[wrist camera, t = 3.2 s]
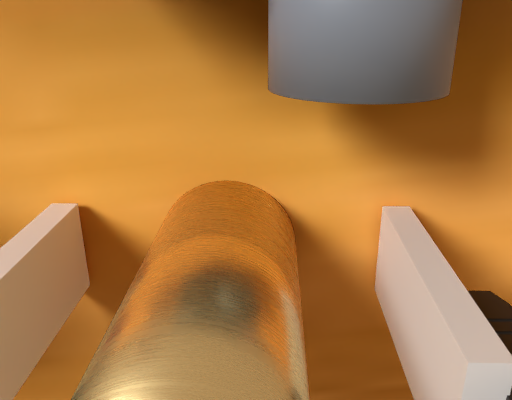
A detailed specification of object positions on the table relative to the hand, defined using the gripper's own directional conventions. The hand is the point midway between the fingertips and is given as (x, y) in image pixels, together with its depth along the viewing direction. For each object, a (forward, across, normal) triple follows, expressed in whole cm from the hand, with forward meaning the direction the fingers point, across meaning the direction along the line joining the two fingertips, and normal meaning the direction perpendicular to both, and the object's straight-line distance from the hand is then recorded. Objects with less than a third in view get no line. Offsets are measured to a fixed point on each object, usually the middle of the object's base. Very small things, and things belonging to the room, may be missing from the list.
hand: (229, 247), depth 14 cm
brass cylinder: (0, 0, 0) cm, 0 cm away
